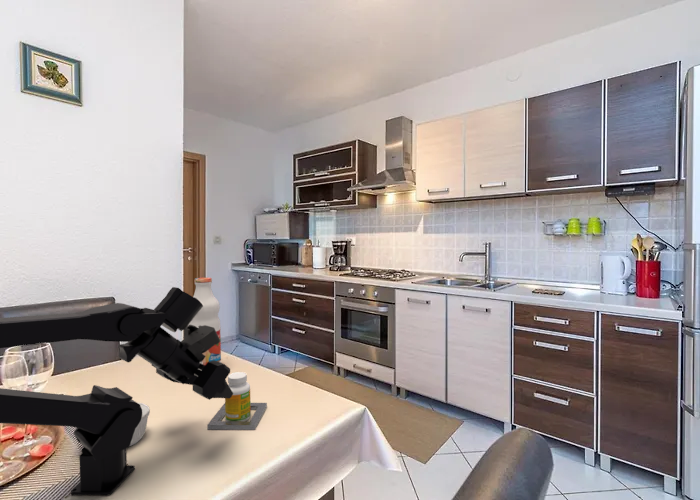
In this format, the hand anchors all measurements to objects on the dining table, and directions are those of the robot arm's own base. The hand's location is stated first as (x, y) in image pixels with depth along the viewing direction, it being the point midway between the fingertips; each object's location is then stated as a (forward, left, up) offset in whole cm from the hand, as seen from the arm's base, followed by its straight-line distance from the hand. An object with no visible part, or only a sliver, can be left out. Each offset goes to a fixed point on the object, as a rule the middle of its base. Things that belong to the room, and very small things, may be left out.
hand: (218, 389), depth 75 cm
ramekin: (-5, +18, -8) cm, 21 cm away
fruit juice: (+33, +17, -8) cm, 38 cm away
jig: (+4, -3, -8) cm, 9 cm away
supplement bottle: (+4, -3, -8) cm, 10 cm away
